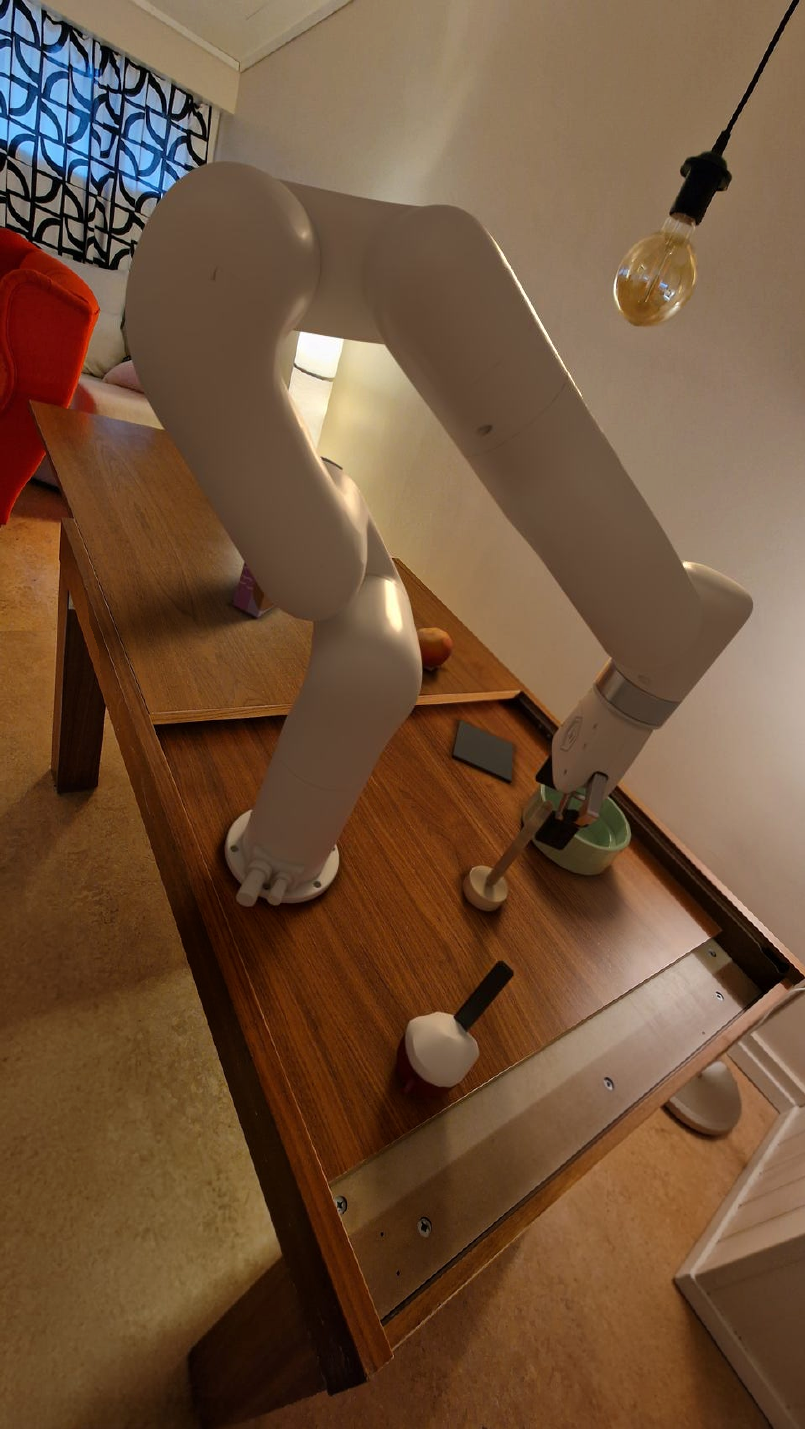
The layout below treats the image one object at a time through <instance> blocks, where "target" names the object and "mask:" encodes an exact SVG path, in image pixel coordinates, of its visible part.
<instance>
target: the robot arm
mask: <svg viewBox="0 0 805 1429" xmlns="http://www.w3.org/2000/svg"><path fill="white" fill-rule="evenodd" d="M126 280H127V281H126V288H125V295H124V296H125V297H124V305H125V306H124V319H125V332H126V339H127V346H128V349H129V354H130V359H131V362H132V366H133V369H134V371H135V375H136V377H137V379H138V382H139V385H140V387H141V390H142V391H143V393H144V396H145V398H146V399H147V402H148V404H149V405H150V407H151V409H152V411H153V413H154V415H155V417H156V418H157V420H158V422H159V423H160V425H161V427H162V429H163V431H164V432H165V433H166V435H167V437H168V438H169V439H170V441H171V443H172V445H173V446H174V448H175V449H176V451H177V452H178V454H179V456H180V457H181V458H182V460H183V462H184V464H185V465H186V467H187V469H188V470H189V472H190V473H191V475H192V477H193V478H194V480H195V481H196V483H197V485H198V486H199V489H200V490H201V492H202V494H203V496H204V498H205V500H206V501H207V503H208V505H209V506H210V508H211V510H212V512H213V513H214V514H215V517H217V519H218V522H219V523H220V525H221V526H222V527H223V529H224V531H225V532H226V534H227V535H228V537H229V539H230V540H231V542H232V544H233V546H234V548H236V550H237V552H238V554H239V555H240V557H241V558H242V560H243V563H244V562H245V563H246V565H247V567H248V568H249V570H250V572H251V574H252V575H253V577H254V579H255V580H256V582H257V584H258V585H259V587H260V588H261V590H262V591H263V592H264V594H265V595H266V596H267V597H268V598H269V600H270V601H271V602H272V603H273V604H275V605H276V606H275V607H277V608H278V609H279V610H281V612H283V613H285V614H287V615H289V616H291V617H293V618H295V619H299V620H304V621H309V622H313V624H312V625H313V626H312V634H311V644H310V655H309V660H308V663H307V664H308V665H307V669H306V672H305V675H304V678H303V682H302V684H301V687H300V689H299V691H298V693H297V695H296V696H295V698H294V700H293V702H292V704H291V706H290V708H289V710H288V713H287V715H286V717H285V720H284V723H283V726H282V728H281V731H280V734H279V736H278V739H277V743H276V746H275V749H274V751H273V753H272V756H271V760H270V762H269V764H268V768H267V770H266V773H265V775H264V778H263V781H262V783H261V786H260V789H259V791H258V794H257V796H256V799H255V802H254V804H253V807H252V809H249V810H247V811H246V812H244V813H243V814H241V815H239V816H238V818H236V819H235V820H234V822H233V823H232V825H231V826H230V828H229V830H228V832H227V835H226V838H225V844H224V857H225V860H226V863H227V864H226V865H227V867H228V868H229V870H230V872H231V874H232V876H234V878H235V879H236V880H237V881H238V883H239V884H240V885H241V886H240V888H239V890H238V892H237V893H236V895H235V900H236V902H237V903H238V904H239V905H241V906H243V907H248V908H249V907H253V906H254V905H255V904H256V902H257V900H258V898H259V897H261V898H262V899H265V900H266V901H267V902H268V903H269V905H272V906H279V905H280V904H296V903H303V902H307V901H310V900H313V899H315V898H317V897H318V896H320V895H322V894H323V893H325V891H327V889H329V887H330V885H331V884H332V883H333V881H334V879H335V877H336V875H337V873H338V870H339V866H340V853H339V850H338V846H337V843H338V841H339V838H340V837H341V834H342V832H343V830H344V828H345V827H346V824H347V823H348V821H349V819H350V817H351V815H352V812H353V811H354V808H355V807H356V805H357V803H358V801H359V798H360V797H361V795H362V793H363V791H364V789H365V787H366V785H367V784H368V781H369V779H370V777H371V775H372V773H373V770H374V769H375V767H376V765H377V763H378V761H379V759H380V757H381V756H382V754H383V752H384V750H385V748H386V747H387V745H388V744H389V742H390V741H391V740H392V738H393V736H394V735H395V733H396V732H397V731H398V730H399V729H400V727H401V726H402V725H403V724H404V723H405V721H407V719H408V717H409V716H410V714H412V711H413V710H414V709H415V706H416V704H417V703H418V699H419V697H420V693H421V689H422V684H423V683H422V681H423V667H422V659H421V652H420V647H419V642H418V637H417V629H416V626H415V625H416V624H415V620H414V615H413V610H412V605H411V602H410V598H409V595H408V591H407V590H406V587H405V584H404V583H403V581H402V580H403V579H402V578H401V575H400V573H399V572H398V569H397V567H396V564H395V562H394V561H393V559H392V556H391V554H390V552H389V550H388V548H387V545H386V543H385V541H384V539H383V536H382V535H381V532H380V530H379V528H378V526H377V524H376V521H375V518H374V517H373V514H372V513H371V510H370V508H369V506H368V504H367V502H366V499H365V498H364V496H363V494H362V492H361V490H360V489H359V487H358V486H357V484H356V483H355V482H354V480H353V479H352V478H351V477H350V476H349V475H348V474H347V473H346V472H345V471H343V469H342V470H341V469H339V468H338V467H336V466H334V465H333V464H330V463H328V462H326V461H323V460H322V459H321V457H322V456H321V455H320V453H319V451H318V449H317V447H316V445H315V441H314V440H313V438H312V435H311V432H310V430H309V427H308V425H307V423H306V421H305V419H304V417H303V415H302V413H301V411H300V409H299V408H298V406H297V404H296V402H295V401H294V399H293V397H292V395H291V394H290V392H289V390H288V388H287V385H286V383H285V380H284V378H283V374H282V373H283V372H282V368H281V367H282V366H281V354H282V348H283V345H284V342H285V341H286V339H287V337H289V335H290V333H291V332H293V331H295V332H301V333H307V334H313V335H318V336H324V337H329V338H335V339H342V340H348V341H352V342H353V341H354V342H360V343H369V344H375V345H376V344H377V345H384V346H385V348H386V350H387V351H388V352H389V354H390V355H391V357H392V358H393V360H394V361H395V362H396V364H397V365H398V367H399V369H401V371H402V373H403V374H404V375H405V377H406V378H407V379H408V381H409V382H410V383H411V385H412V387H413V388H414V389H415V391H416V392H417V393H418V395H419V396H420V398H421V399H422V401H423V402H424V403H425V405H426V406H427V407H428V409H429V410H430V411H431V413H432V414H433V416H434V417H435V418H436V420H437V421H438V422H439V424H440V425H441V426H442V429H444V431H445V432H446V434H447V435H448V437H449V438H450V439H451V441H452V442H453V444H454V445H455V446H456V448H457V449H458V451H459V452H460V454H461V455H462V457H463V458H464V459H465V461H466V462H467V464H468V465H469V467H470V468H471V469H472V471H473V472H474V474H475V475H476V477H477V478H478V480H479V481H480V482H481V484H482V486H483V487H484V488H485V489H486V491H487V492H488V493H489V495H490V497H491V498H492V499H493V501H494V502H495V504H496V506H497V507H498V508H499V510H500V512H501V514H503V515H504V517H505V518H506V519H507V520H508V522H509V523H510V524H511V525H512V527H513V528H514V529H515V530H516V531H517V532H518V533H519V534H520V536H521V537H522V538H523V540H525V541H526V543H527V544H528V545H529V547H531V549H532V550H533V551H534V553H535V554H536V555H537V557H538V558H539V559H540V561H541V562H542V563H543V564H544V566H545V568H546V569H547V570H548V571H549V573H550V574H551V576H552V578H553V579H554V580H555V581H556V583H557V585H558V586H559V587H560V589H561V590H562V591H563V593H564V595H565V596H566V597H567V598H568V601H570V603H571V604H572V606H573V607H574V608H575V610H576V612H577V613H578V614H579V616H580V617H581V619H582V620H583V622H584V624H586V626H587V627H588V628H589V630H590V632H591V633H592V634H593V636H594V637H595V638H596V640H597V641H598V643H599V645H600V646H601V647H602V649H603V650H604V652H605V653H606V654H607V656H609V659H608V661H607V662H606V663H605V665H604V666H603V668H602V669H601V671H600V672H599V673H598V675H597V677H596V678H595V679H594V681H593V682H592V686H591V687H590V688H589V689H588V690H587V692H586V693H585V694H584V695H583V696H582V697H581V699H580V700H579V702H578V703H577V704H576V706H575V707H574V708H573V709H572V711H571V712H570V713H569V714H568V716H567V717H566V719H565V720H564V721H563V722H562V724H561V725H560V726H559V728H558V729H557V730H556V732H555V734H554V735H553V737H552V742H551V753H550V754H549V755H548V757H547V758H546V760H544V763H543V765H542V766H541V767H540V768H539V770H538V771H537V773H536V774H535V776H534V778H535V782H536V783H539V784H543V785H545V786H548V787H550V788H552V789H554V790H557V791H560V792H561V791H562V792H564V794H563V797H562V799H561V802H560V804H559V807H558V810H557V811H554V810H553V811H552V812H551V813H550V815H549V816H548V817H547V819H546V820H545V821H544V823H543V824H542V825H541V827H540V828H539V829H538V831H537V832H536V833H535V840H537V841H539V842H541V843H543V844H546V845H548V846H550V847H553V848H555V849H557V850H563V849H564V848H565V847H566V845H567V844H568V843H569V842H570V840H571V839H572V838H573V837H574V835H575V834H576V833H577V832H578V830H579V829H583V828H586V827H587V826H589V824H590V823H592V822H594V821H595V820H597V819H598V817H599V815H600V810H601V805H602V802H603V801H604V800H605V799H606V798H607V796H608V797H609V795H610V794H612V792H613V791H614V790H615V788H616V787H617V785H618V784H619V783H620V782H621V780H622V779H623V778H624V776H625V775H626V773H627V772H628V771H629V769H630V768H631V767H632V765H633V764H634V762H635V761H636V759H637V758H638V756H639V755H640V753H641V751H642V750H643V748H644V747H645V746H646V743H647V742H648V740H649V739H650V737H651V735H652V734H653V732H654V731H656V730H660V729H662V728H663V726H665V724H666V723H667V722H668V720H669V719H670V718H671V716H672V715H673V714H674V713H675V711H676V710H678V708H679V707H680V705H681V704H682V703H683V702H684V700H685V699H686V698H687V697H688V696H689V695H690V693H691V692H692V690H693V689H694V688H695V687H696V686H697V684H699V681H701V679H702V678H703V677H704V675H705V674H706V673H707V672H708V670H709V669H710V668H711V666H713V665H714V663H715V662H716V661H717V660H718V658H719V656H720V655H721V654H722V653H723V652H724V651H725V649H726V648H727V646H728V645H729V644H730V643H731V642H732V641H733V639H734V638H735V637H736V635H737V634H738V633H739V632H740V630H741V629H742V628H743V627H744V626H745V624H746V623H747V622H748V620H749V619H750V617H751V615H752V613H753V609H754V601H753V597H752V596H751V595H750V594H749V591H747V590H746V589H745V588H744V587H743V586H742V585H741V584H739V583H737V582H736V581H735V580H733V579H732V578H730V577H729V576H727V575H725V574H723V573H722V572H720V571H718V570H716V569H714V568H712V567H709V566H707V565H705V564H702V563H698V562H692V561H686V560H684V559H682V558H680V556H679V555H678V553H677V551H676V549H675V547H674V546H673V544H672V542H671V541H670V540H671V539H669V537H668V535H667V534H666V532H665V530H664V528H663V527H662V525H661V524H660V522H659V520H658V518H657V517H656V515H655V514H654V512H653V511H652V509H651V508H650V506H649V503H647V501H646V500H645V498H644V496H643V495H642V494H641V492H640V490H639V489H638V487H637V485H636V484H635V482H634V481H633V479H632V478H631V476H630V474H629V473H628V471H627V469H626V468H625V466H624V465H623V463H622V461H621V459H620V458H619V455H618V454H617V452H616V450H615V448H614V446H613V445H612V443H611V441H610V440H609V438H608V436H607V435H606V433H605V432H604V430H603V429H602V427H601V426H600V424H599V423H598V421H597V420H596V418H595V416H594V415H593V413H592V412H591V409H590V408H589V406H588V405H587V402H586V401H585V399H584V397H583V396H582V394H581V392H580V390H579V389H578V387H577V384H576V383H575V382H574V379H573V377H572V375H571V374H570V372H569V371H568V368H566V366H565V364H564V363H563V361H562V359H561V357H560V355H559V353H558V351H557V349H556V347H555V346H554V344H553V342H552V340H551V339H550V337H549V335H548V333H547V331H546V329H545V327H544V325H543V324H542V322H541V320H540V318H539V316H538V315H537V312H536V311H535V309H534V307H533V305H532V303H531V301H530V300H529V298H528V296H527V294H526V293H525V290H524V289H523V287H522V285H521V283H520V281H519V280H518V278H517V276H516V274H515V272H514V270H513V269H512V267H511V265H510V264H509V262H508V259H507V258H506V256H505V255H504V253H503V251H502V250H501V248H500V246H499V245H498V243H497V242H496V241H495V239H494V237H493V236H492V234H491V233H490V231H489V229H488V228H486V226H484V224H483V222H481V221H480V220H479V219H478V218H477V217H476V216H474V215H473V214H471V213H470V212H469V211H466V210H465V209H463V208H460V207H458V206H454V205H450V204H429V205H415V204H405V203H397V202H391V201H385V200H378V199H372V198H367V197H362V196H357V195H352V194H348V193H343V192H338V191H333V190H329V189H324V188H321V187H316V186H311V185H307V184H303V183H299V182H294V181H289V180H285V179H281V178H277V177H274V176H272V175H271V174H269V173H268V172H266V171H264V170H262V169H260V168H257V167H255V166H254V165H251V164H247V163H243V162H239V161H234V160H221V161H212V162H207V163H204V164H202V165H200V166H197V167H196V168H193V169H191V170H190V171H188V172H187V173H186V174H184V175H183V176H181V177H180V178H179V179H177V180H176V181H175V182H174V183H173V184H172V185H171V186H170V187H169V188H168V189H167V191H165V193H164V194H163V196H161V198H160V200H158V202H157V204H156V205H155V207H154V208H153V210H152V211H151V213H150V215H149V217H148V219H147V220H146V223H145V225H144V227H143V229H142V231H141V233H140V236H139V238H138V241H137V243H136V246H135V249H134V252H133V255H132V259H131V262H130V266H129V270H128V274H127V279H126ZM320 456H321V457H320ZM580 787H581V788H584V789H586V794H585V795H583V794H581V793H579V792H577V791H574V790H576V789H578V788H580ZM572 798H575V799H577V800H579V801H582V802H584V803H583V805H582V806H581V807H580V808H579V810H575V809H568V807H569V804H570V802H571V799H572Z"/></svg>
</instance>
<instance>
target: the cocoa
mask: <svg viewBox="0 0 805 1429" xmlns="http://www.w3.org/2000/svg"><path fill="white" fill-rule="evenodd" d="M514 976H515V972H514V970H513V969H512V968H511V966H509V965H508V964H506V962H505V961H503V960H498V961H497V962H496V963H495V964H494V965H493V966H492V968H491V969H490V970H489V972H488V973H487V974H486V975H485V977H484V978H483V979H482V980H481V981H480V983H479V984H478V985H477V987H476V988H474V991H473V992H472V993H471V994H470V995H469V997H468V998H467V999H466V1000H465V1001H464V1003H463V1004H462V1005H461V1006H460V1007H459V1009H458V1010H457V1012H455V1014H451V1013H446V1012H441V1011H435V1012H432V1013H430V1014H427V1015H420V1016H416V1017H414V1018H413V1019H411V1020H409V1021H408V1023H407V1027H406V1028H405V1031H404V1032H403V1034H402V1037H401V1039H400V1041H399V1044H398V1047H397V1050H396V1068H397V1071H398V1073H399V1076H400V1078H401V1080H402V1082H403V1083H404V1084H403V1087H402V1088H401V1090H400V1091H399V1095H400V1097H402V1098H405V1096H406V1095H407V1094H408V1093H409V1092H410V1091H411V1092H412V1093H414V1094H416V1095H418V1096H421V1097H423V1098H425V1099H427V1098H439V1097H442V1096H444V1095H446V1094H448V1093H450V1092H451V1091H452V1090H453V1089H454V1088H456V1087H457V1086H458V1085H459V1084H461V1083H462V1082H463V1081H464V1079H465V1078H466V1076H467V1075H468V1073H469V1072H470V1070H471V1069H472V1067H473V1066H474V1065H475V1063H476V1062H477V1060H478V1058H479V1056H480V1049H479V1046H478V1042H477V1041H476V1038H474V1037H473V1036H472V1035H471V1034H470V1033H469V1030H471V1029H472V1027H473V1026H474V1024H475V1023H476V1022H477V1021H478V1020H479V1019H480V1017H481V1016H482V1015H483V1014H484V1012H485V1011H486V1010H487V1009H488V1008H489V1006H490V1005H491V1004H492V1003H493V1001H494V1000H495V999H496V998H497V996H498V995H499V994H500V993H501V992H502V991H503V989H504V988H505V987H506V986H507V985H508V983H509V982H510V981H511V980H512V979H513V977H514Z"/></svg>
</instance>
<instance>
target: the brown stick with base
mask: <svg viewBox="0 0 805 1429" xmlns="http://www.w3.org/2000/svg"><path fill="white" fill-rule="evenodd" d="M553 810H554V804H553V803H552V802H551V801H549V800H545V801H543V802H542V804H541V805H540V806H539V808H538V809H537V810H536V812H535V813H534V814H533V815H532V817H531V818H530V819H529V821H528V822H527V823H526V825H525V826H524V825H523V827H522V828H521V830H520V831H519V833H518V834H516V835H517V836H516V837H515V838H514V839H513V841H512V842H511V843H510V845H509V846H508V847H507V848H506V850H505V852H504V853H503V854H502V855H501V856H500V858H499V859H498V861H497V862H496V863H495V864H494V866H493V868H492V867H490V866H486V865H477V866H474V867H473V868H472V869H471V870H470V871H469V872H468V874H467V875H466V876H465V878H464V879H463V881H462V891H463V894H464V896H465V898H466V899H467V901H468V902H469V903H470V904H471V905H472V906H473V907H475V908H477V909H479V910H481V911H484V912H494V911H496V910H497V909H499V908H500V907H501V905H502V904H503V902H504V901H505V900H507V897H508V895H509V887H508V884H507V882H506V880H505V879H504V875H505V874H506V872H507V871H508V869H509V868H510V867H511V865H512V864H513V863H514V861H515V860H516V859H517V857H519V855H520V854H521V853H522V852H523V850H524V848H526V846H527V845H528V844H529V842H531V841H532V839H531V838H532V837H533V836H534V834H535V833H536V832H537V831H538V829H539V828H540V827H541V825H542V824H543V823H544V821H545V820H546V819H547V817H548V816H549V815H550V813H551V812H552V811H553Z"/></svg>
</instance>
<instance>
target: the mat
mask: <svg viewBox="0 0 805 1429" xmlns="http://www.w3.org/2000/svg"><path fill="white" fill-rule="evenodd" d="M457 724H458V725H457V730H456V735H455V739H454V745H453V750H452V757H453V758H455V759H457V760H459V761H462V762H464V763H467V764H468V765H470V766H473V767H474V768H477V769H479V770H482V771H484V772H486V773H488V774H491V775H492V776H495V777H497V778H499V779H501V780H503V781H505V782H507V783H511V782H512V781H513V761H514V760H513V759H514V744H513V743H511V742H509V741H507V740H505V739H502V738H500V737H497V736H495V735H493V734H491V733H489V732H487V731H485V730H482V729H480V728H478V727H476V726H474V725H472V724H469V723H467V722H465V721H463V720H461V719H459V721H458V723H457Z"/></svg>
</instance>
